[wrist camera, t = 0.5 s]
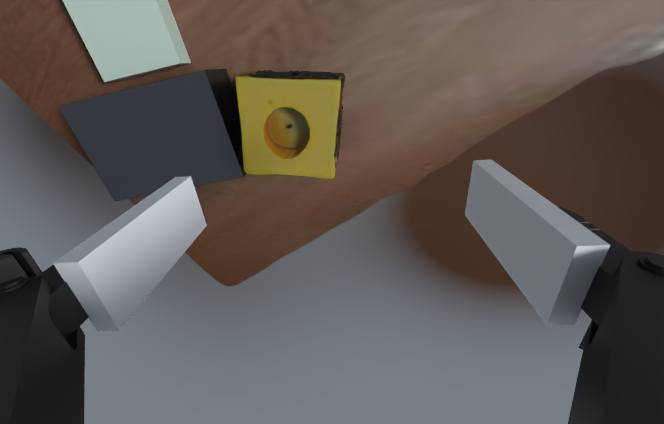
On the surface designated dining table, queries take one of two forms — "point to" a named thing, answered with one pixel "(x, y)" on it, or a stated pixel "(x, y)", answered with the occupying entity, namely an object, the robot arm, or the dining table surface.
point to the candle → (290, 122)
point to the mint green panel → (128, 36)
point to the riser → (161, 133)
